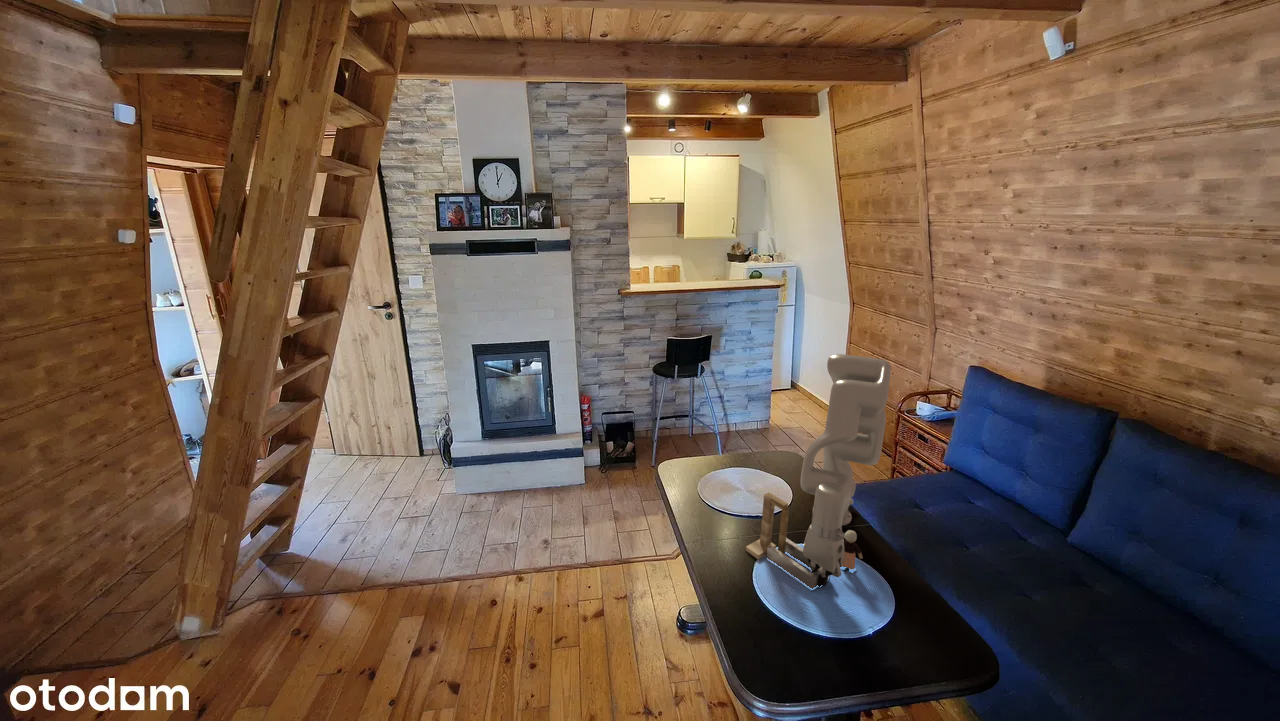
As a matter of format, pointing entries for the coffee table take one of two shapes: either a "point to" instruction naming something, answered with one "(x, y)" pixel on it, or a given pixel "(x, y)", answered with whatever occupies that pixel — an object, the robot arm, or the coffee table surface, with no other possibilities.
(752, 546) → the pin stand
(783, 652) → the coffee table surface
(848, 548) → the grandmother figurine
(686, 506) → the coffee table surface
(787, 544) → the steel C-link
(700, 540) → the coffee table surface
